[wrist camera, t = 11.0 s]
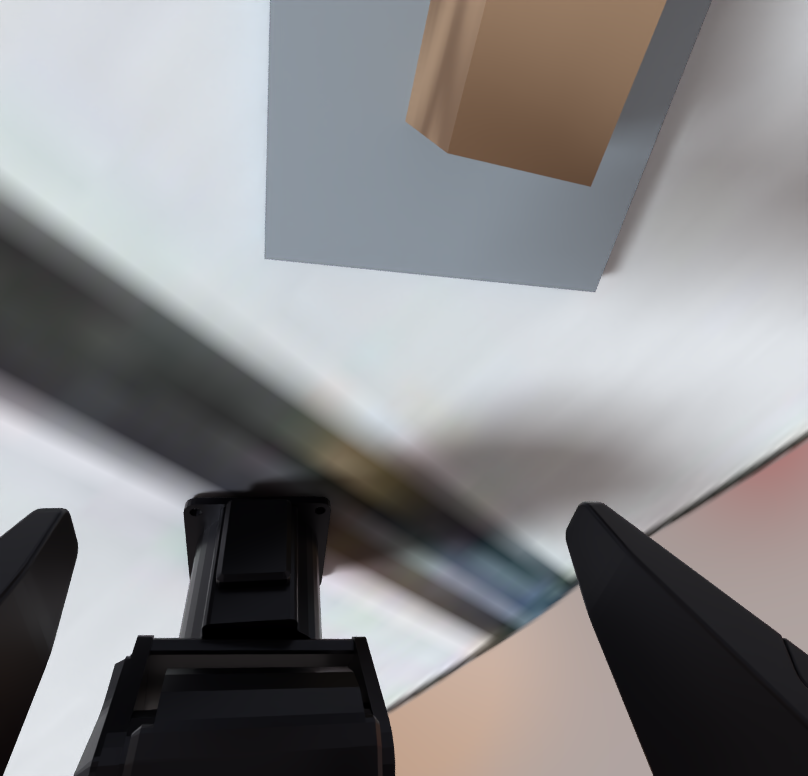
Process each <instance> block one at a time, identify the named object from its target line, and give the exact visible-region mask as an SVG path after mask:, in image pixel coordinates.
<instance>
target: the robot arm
mask: <svg viewBox="0 0 808 776" xmlns="http://www.w3.org/2000/svg"><path fill="white" fill-rule="evenodd" d="M317 507H322V508H317ZM195 508H196V509H199V510H196V509H195ZM330 512H331V507H330V501H329V500H328V499H327V498H325V497H243V498H192V499H190V500H188V501H187V502H186V504H185V508H184V523H185V534H186V544H187V555H188V566H189V576H190V583H189V589H188V594H187V599H186V604H185V609H184V614H183V619H182V625H181V630H180V635H179V638H154V635H138V637H137V640H136V643H135V646H134V650H133V653H132V654H131V655H130V656H126V658H125V659H124V660H122V661H120V662H118V663H116V664H115V666H114V670H113V673H112V677H111V680H110V684H109V687H108V691H107V694H106V697H105V701H104V704H103V707H102V710H101V713H100V715H99V718H98V720H97V723H96V725H95V727H94V730H93V732H92V734H91V736H90V739H89V741H88V743H87V746H86V748H85V750H84V753H83V755H82V757H81V760H80V762H79V764H78V766H77V769H76V771H75V773H74V776H395V755H394V744H393V736H392V730H391V726H390V721H389V717H388V714H387V710H386V707H385V703H384V700H383V696H382V693H381V689H380V686H379V682H378V678H377V675H376V671H375V668H374V664H373V661H372V657H371V654H370V650H369V647H368V643H367V639H366V637H352V639H322V631H321V608H320V584H321V581H322V574H323V566H324V558H325V551H326V543H327V535H328V528H329V520H330ZM566 542H567V546H568V549H569V552H570V556H571V559H572V563H573V566H574V569H575V573H576V576H577V579H578V583H579V586H580V590H581V593H582V596H583V600H584V603H585V606H586V609H587V611H588V615H589V618H590V620H591V623H592V626H593V628H594V631H595V633H596V636H597V638H598V641H599V643H600V645H601V648H602V650H603V653H604V655H605V658H606V660H607V663H608V665H609V667H610V670H611V672H612V675H613V678H614V679H615V682H616V685H617V687H618V690H619V692H620V695H621V697H622V700H623V702H624V705H625V707H626V709H627V712H628V714H629V717H630V719H631V722H632V724H633V727H634V729H635V732H636V734H637V737H638V739H639V742H640V744H641V747H642V749H643V752H644V754H645V756H646V759H647V761H648V764H649V766H650V769H651V771H652V773H653V776H808V655H807V654H806V653H805V652H803V651H802V650H801V649H799V648H798V647H797V646H795V645H794V644H792V643H791V642H790V641H789V640H787V639H785V638H782V636H781V635H780V634H779V633H778V632H776V631H775V630H774V629H772V628H771V627H770V626H768V625H767V624H766V623H764V622H763V621H762V620H760V619H759V618H758V617H756V616H755V615H753V614H752V613H751V612H749V611H748V610H747V609H745V608H744V607H743V606H741V605H740V604H739V603H737V602H736V601H735V600H733V599H732V598H731V597H729V596H728V595H727V594H725V593H724V592H723V591H721V590H720V589H718V588H717V587H716V586H714V585H713V584H712V583H710V582H709V581H708V580H706V579H705V578H704V577H702V576H701V575H700V574H698V573H697V572H696V571H694V570H693V569H692V568H690V567H689V566H687V565H686V564H685V563H683V562H682V561H681V560H679V559H678V558H677V557H675V556H674V555H672V554H671V553H670V552H669V551H667V550H666V549H665V548H663V547H662V546H661V545H659V544H658V543H656V542H655V541H654V540H652V539H651V538H650V537H648V536H647V535H646V534H644V533H643V532H642V531H640V530H639V529H638V528H636V527H635V526H634V525H632V524H631V523H630V522H628V521H627V520H625V519H624V518H623V517H621V516H620V515H619V514H617V513H616V512H615V511H613V510H612V509H611V508H609V507H608V506H607V505H605V504H604V503H601V502H582V503H581V504H579V506H578V507H577V509H576V511H575V513H574V515H573V517H572V519H571V521H570V523H569V525H568V527H567V529H566ZM77 554H78V542H77V538H76V534H75V530H74V527H73V523H72V519H71V516H70V513H69V511H68V510H66V509H63V508H42V509H37V510H35V511H33V512H31V513H30V514H29V515H27V516H26V517H25V518H24V519H22V520H21V521H20V522H19V523H17V524H16V525H15V526H14V527H12V528H11V529H10V530H8V531H7V532H6V533H5V534H3V535H2V536H1V537H0V776H3V774H4V772H5V769H6V766H7V764H8V761H9V759H10V756H11V754H12V751H13V749H14V746H15V744H16V741H17V739H18V736H19V734H20V731H21V728H22V726H23V723H24V721H25V718H26V716H27V713H28V711H29V708H30V706H31V703H32V701H33V698H34V696H35V693H36V691H37V688H38V685H39V683H40V680H41V678H42V675H43V673H44V670H45V668H46V665H47V662H48V659H49V657H50V654H51V651H52V647H53V644H54V640H55V637H56V633H57V629H58V626H59V622H60V618H61V615H62V611H63V607H64V603H65V600H66V596H67V592H68V589H69V585H70V581H71V577H72V574H73V570H74V566H75V563H76V559H77Z"/></svg>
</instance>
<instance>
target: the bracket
mask: <svg viewBox="0 0 808 776" xmlns="http://www.w3.org/2000/svg"><path fill="white" fill-rule="evenodd" d="M711 1H712V0H667V1H666V4H665V6H664V9H663V11H662V13H661V16H660V18H659V21H658V23H657V26H656V28H655V31H654V33H653V36H652V38H651V40H650V43H649V45H648V48H647V50H646V53H645V55H644V58H643V60H642V63H641V65H640V67H639V70H638V72H637V75H636V77H635V80H634V82H633V85H632V87H631V90H630V92H629V94H628V97H627V99H626V102H625V104H624V107H623V109H622V112H621V114H620V117H619V119H618V121H617V124H616V126H615V129H614V131H613V134H612V136H611V139H610V141H609V143H608V146H607V148H606V151H605V153H604V156H603V158H602V161H601V163H600V166H599V168H598V170H597V173H596V175H595V178H594V180H593V183H592V185H591V187H589V186H585V185H580V184H576V183H572V182H568V181H563V180H559V179H555V178H551V177H546V176H542V175H538V174H534V173H529V172H525V171H521V170H517V169H512V168H508V167H504V166H500V165H495V164H491V163H487V162H482V161H478V160H474V159H470V158H465V157H461V156H457V155H453V154H448V153H446V152H445V151H444V150H442V149H441V148H440V147H438V146H437V145H436V144H434V143H433V142H432V141H430V140H429V139H428V138H426V137H425V136H424V135H423V134H421V133H420V132H419V131H417V130H416V129H415V128H413V127H412V126H411V125H409V124H408V123H407V122H405V120H406V115H407V111H408V106H409V101H410V96H411V92H412V87H413V82H414V77H415V72H416V68H417V63H418V58H419V53H420V48H421V44H422V39H423V34H424V29H425V24H426V20H427V15H428V10H429V5H430V0H270V28H269V74H268V120H267V167H266V213H265V259H271V260H281V261H291V262H301V263H311V264H321V265H331V266H341V267H351V268H360V269H370V270H380V271H390V272H400V273H410V274H420V275H430V276H440V277H450V278H460V279H470V280H480V281H489V282H499V283H509V284H519V285H529V286H539V287H549V288H559V289H569V290H579V291H589V292H595V291H596V289H597V286H598V284H599V281H600V279H601V276H602V274H603V271H604V269H605V266H606V264H607V261H608V259H609V256H610V254H611V251H612V249H613V246H614V244H615V241H616V239H617V236H618V234H619V231H620V229H621V226H622V224H623V221H624V219H625V216H626V214H627V211H628V209H629V206H630V204H631V201H632V199H633V196H634V194H635V191H636V189H637V186H638V184H639V181H640V179H641V176H642V174H643V171H644V169H645V166H646V164H647V161H648V159H649V156H650V154H651V151H652V149H653V146H654V144H655V141H656V139H657V136H658V134H659V131H660V129H661V126H662V124H663V121H664V119H665V116H666V114H667V111H668V109H669V106H670V104H671V101H672V99H673V96H674V94H675V91H676V89H677V86H678V84H679V81H680V79H681V76H682V74H683V71H684V69H685V66H686V64H687V61H688V59H689V56H690V54H691V51H692V49H693V46H694V44H695V41H696V39H697V36H698V34H699V31H700V29H701V26H702V24H703V21H704V19H705V16H706V14H707V11H708V9H709V6H710V4H711Z"/></svg>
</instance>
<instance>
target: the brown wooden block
mask: <svg viewBox="0 0 808 776" xmlns="http://www.w3.org/2000/svg"><path fill="white" fill-rule="evenodd" d="M666 1H667V0H430V5H429V10H428V15H427V20H426V24H425V29H424V34H423V39H422V44H421V48H420V53H419V58H418V63H417V68H416V72H415V77H414V82H413V87H412V92H411V96H410V101H409V106H408V111H407V115H406V120H405V122H407V123H408V124H409V125H411V126H412V127H413V128H415V129H416V130H417V131H419V132H420V133H421V134H423V135H424V136H425V137H426V138H428V139H429V140H430V141H432V142H433V143H434V144H436V145H437V146H438V147H440V148H441V149H442V150H444V151H445V152H446V153H448V154H453V155H457V156H461V157H465V158H470V159H474V160H478V161H482V162H487V163H491V164H495V165H500V166H504V167H508V168H512V169H517V170H521V171H525V172H529V173H534V174H538V175H542V176H546V177H551V178H555V179H559V180H563V181H568V182H572V183H576V184H580V185H585V186H589V187H591V185H592V183H593V180H594V178H595V175H596V173H597V170H598V168H599V166H600V163H601V161H602V158H603V156H604V153H605V151H606V148H607V146H608V143H609V141H610V139H611V136H612V134H613V131H614V129H615V126H616V124H617V121H618V119H619V117H620V114H621V112H622V109H623V107H624V104H625V102H626V99H627V97H628V94H629V92H630V90H631V87H632V85H633V82H634V80H635V77H636V75H637V72H638V70H639V67H640V65H641V63H642V60H643V58H644V55H645V53H646V50H647V48H648V45H649V43H650V40H651V38H652V36H653V33H654V31H655V28H656V26H657V23H658V21H659V18H660V16H661V13H662V11H663V9H664V6H665V4H666Z"/></svg>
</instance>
